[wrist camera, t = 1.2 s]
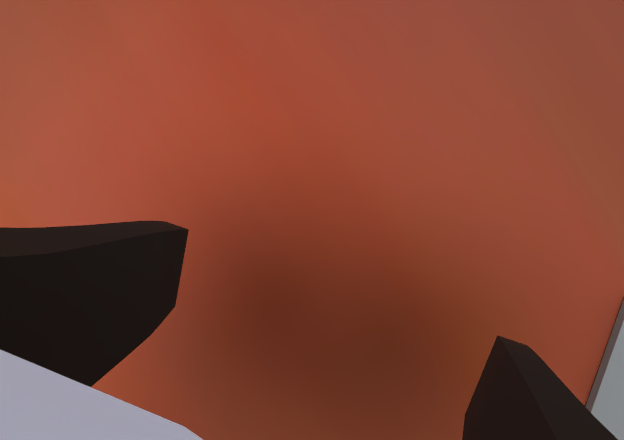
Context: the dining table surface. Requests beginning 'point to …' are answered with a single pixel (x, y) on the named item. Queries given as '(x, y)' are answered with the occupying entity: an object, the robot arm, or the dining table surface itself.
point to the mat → (611, 383)
